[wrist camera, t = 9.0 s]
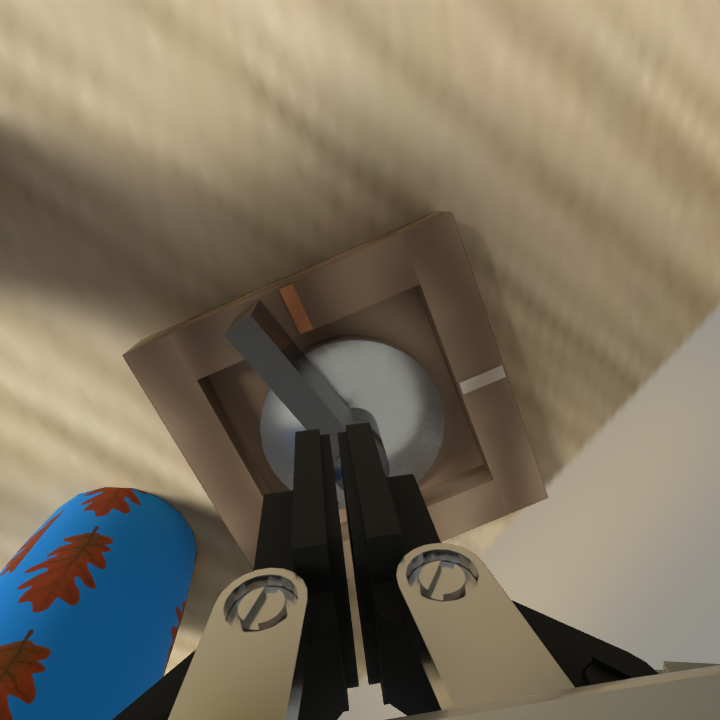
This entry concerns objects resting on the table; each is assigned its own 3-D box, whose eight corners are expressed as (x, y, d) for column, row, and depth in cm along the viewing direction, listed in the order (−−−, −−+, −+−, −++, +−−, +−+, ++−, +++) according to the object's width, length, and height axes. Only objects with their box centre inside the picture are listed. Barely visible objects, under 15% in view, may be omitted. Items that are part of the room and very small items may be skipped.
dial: (472, 434, 34) (507, 484, 28) (334, 528, 35) (339, 596, 29) (330, 240, 29) (335, 250, 23) (177, 357, 30) (143, 396, 24)
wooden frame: (279, 575, 37) (276, 610, 34) (140, 340, 31) (121, 356, 28) (528, 473, 37) (549, 498, 33) (437, 211, 30) (452, 212, 27)
